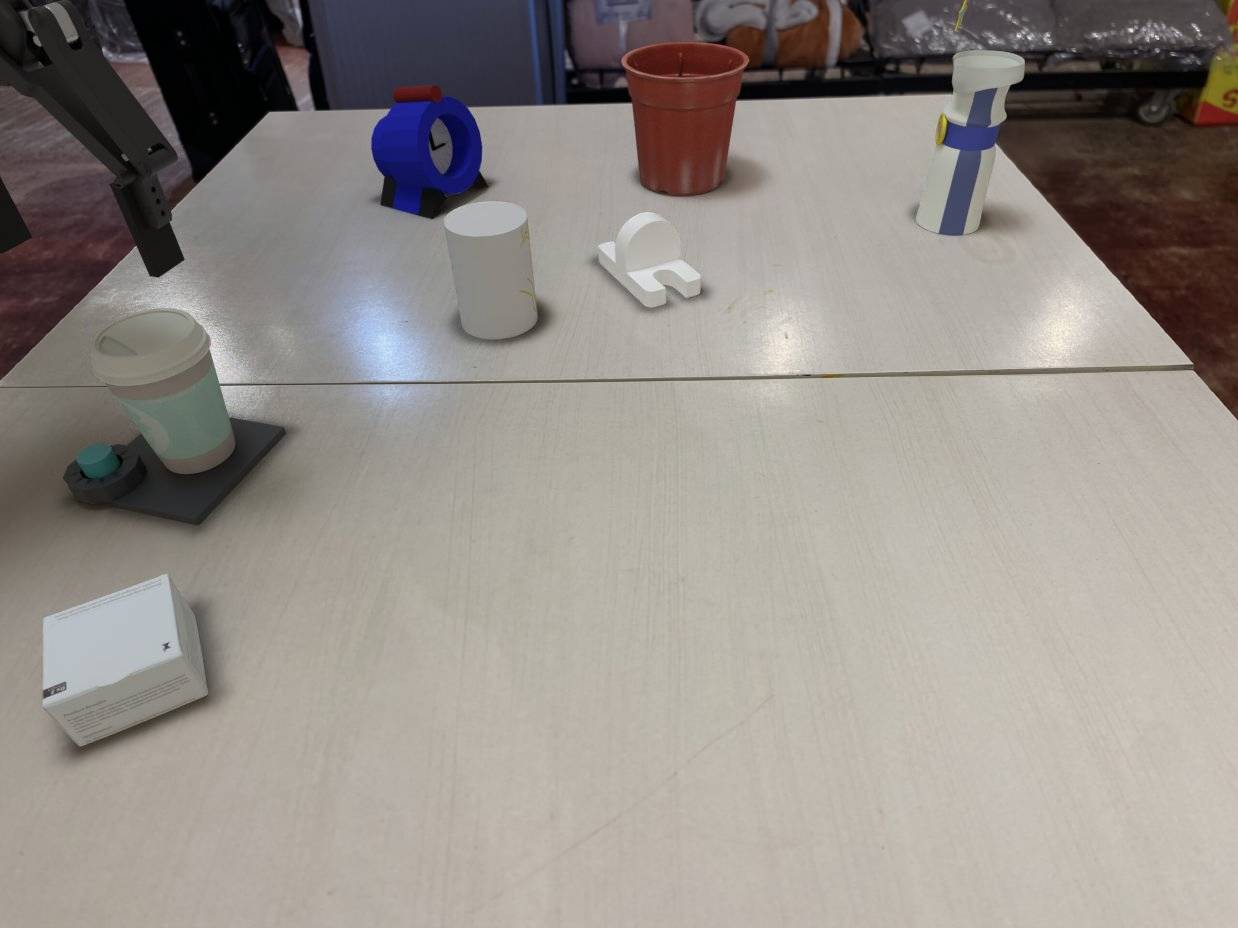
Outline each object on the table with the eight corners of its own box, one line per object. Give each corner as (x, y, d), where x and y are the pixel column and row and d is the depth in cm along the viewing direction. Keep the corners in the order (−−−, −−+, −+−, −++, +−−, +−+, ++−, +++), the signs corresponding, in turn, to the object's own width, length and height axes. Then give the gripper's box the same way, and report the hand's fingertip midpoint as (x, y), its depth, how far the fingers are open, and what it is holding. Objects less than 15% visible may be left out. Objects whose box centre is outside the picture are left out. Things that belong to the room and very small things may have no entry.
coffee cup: (149, 435, 71) (87, 317, 63) (251, 412, 73) (203, 295, 65) (143, 496, 65) (73, 374, 57) (253, 470, 67) (201, 349, 59)
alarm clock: (436, 220, 107) (414, 101, 97) (369, 202, 112) (342, 88, 102) (493, 187, 115) (478, 75, 105) (428, 172, 120) (408, 63, 110)
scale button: (78, 476, 65) (68, 460, 64) (102, 456, 67) (92, 440, 66) (104, 482, 65) (94, 466, 64) (127, 461, 67) (118, 445, 65)
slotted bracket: (703, 298, 90) (706, 232, 85) (648, 314, 87) (648, 247, 82) (647, 252, 99) (647, 190, 93) (596, 265, 96) (593, 202, 91)
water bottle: (915, 235, 100) (968, 10, 84) (909, 207, 106) (957, -8, 90) (985, 239, 99) (1052, 11, 82) (975, 210, 105) (1035, -7, 89)
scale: (65, 508, 66) (47, 482, 64) (171, 417, 75) (158, 391, 74) (195, 538, 63) (180, 510, 61) (288, 439, 73) (278, 412, 71)
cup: (547, 334, 85) (537, 227, 77) (472, 352, 83) (454, 243, 75) (525, 299, 91) (514, 195, 83) (454, 314, 88) (435, 209, 80)
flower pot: (708, 213, 107) (715, 84, 96) (602, 190, 113) (598, 67, 103) (757, 170, 117) (768, 50, 107) (657, 152, 124) (658, 37, 113)
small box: (198, 617, 57) (170, 569, 54) (213, 701, 52) (183, 654, 49) (77, 662, 55) (39, 614, 51) (80, 756, 50) (38, 709, 46)
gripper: (152, -104, 44) (269, 253, 58) (-186, -114, 49) (-5, 215, 63) (43, -84, 39) (200, 305, 53) (-323, -98, 44) (-92, 258, 58)
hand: (89, 256), depth 58 cm, fingers open, 13 cm apart
